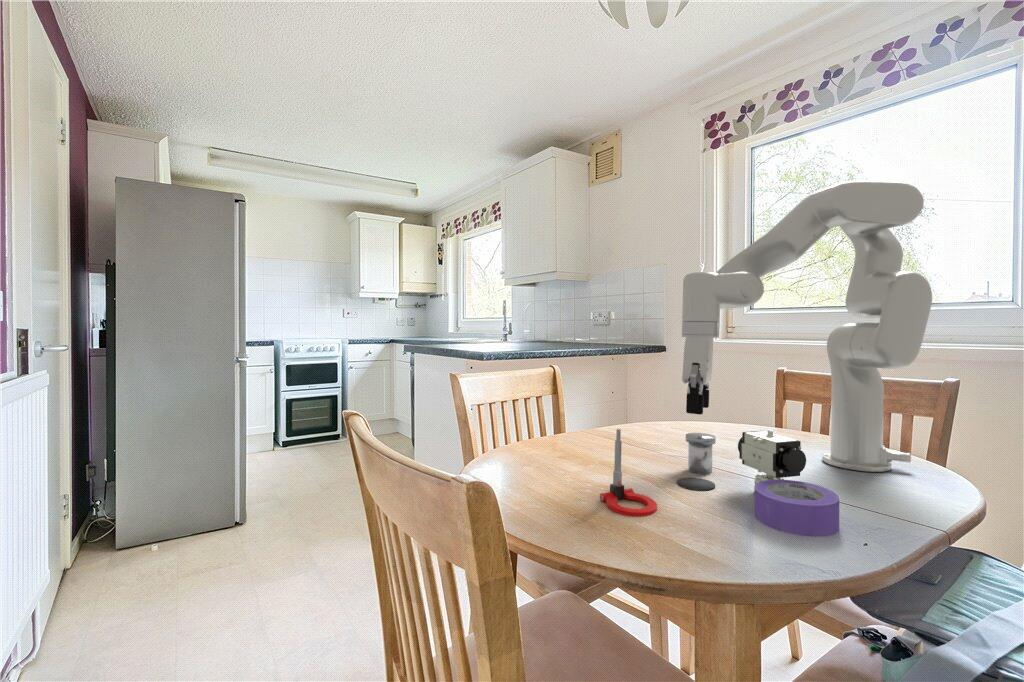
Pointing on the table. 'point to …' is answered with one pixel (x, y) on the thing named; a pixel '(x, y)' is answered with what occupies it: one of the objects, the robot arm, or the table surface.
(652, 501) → the tow hook
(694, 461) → the cylinder
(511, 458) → the table surface
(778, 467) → the pneumatic valve
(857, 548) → the table surface
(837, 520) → the tape roll
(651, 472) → the table surface
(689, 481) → the pad
